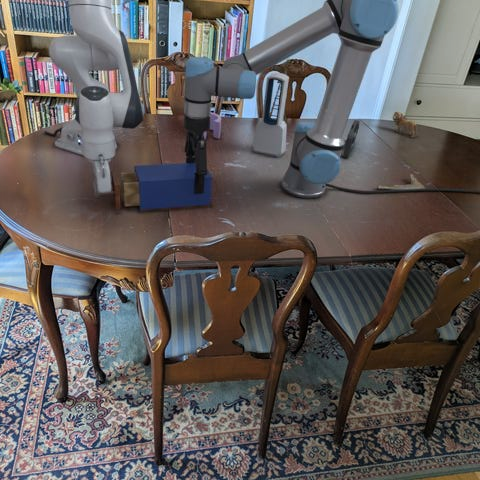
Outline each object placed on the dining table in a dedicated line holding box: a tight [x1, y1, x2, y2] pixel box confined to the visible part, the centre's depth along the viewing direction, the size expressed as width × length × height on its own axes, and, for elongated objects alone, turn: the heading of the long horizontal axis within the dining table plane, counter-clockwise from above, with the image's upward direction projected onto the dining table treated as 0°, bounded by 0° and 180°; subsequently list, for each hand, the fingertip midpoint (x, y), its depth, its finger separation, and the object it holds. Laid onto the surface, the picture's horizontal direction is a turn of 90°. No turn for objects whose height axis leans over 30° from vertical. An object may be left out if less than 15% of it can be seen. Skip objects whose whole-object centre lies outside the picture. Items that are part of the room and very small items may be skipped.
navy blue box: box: [133, 162, 213, 213], centre depth 143 cm, size 22×11×10 cm, turn 109°
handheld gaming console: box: [342, 119, 361, 159], centre depth 194 cm, size 23×3×10 cm, turn 161°
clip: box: [203, 111, 222, 140], centre depth 199 cm, size 20×12×7 cm, turn 23°
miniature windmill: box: [269, 58, 290, 124], centre depth 205 cm, size 9×8×30 cm
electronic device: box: [251, 72, 290, 158], centre depth 178 cm, size 12×8×30 cm, turn 71°
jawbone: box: [376, 173, 426, 190], centre depth 169 cm, size 9×20×2 cm, turn 126°
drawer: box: [92, 170, 140, 211], centre depth 140 cm, size 26×10×8 cm, turn 109°
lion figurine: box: [392, 111, 420, 138], centre depth 220 cm, size 15×5×9 cm, turn 50°
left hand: (102, 192), depth 137 cm, fingers closed, pressing on drawer
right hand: (194, 184), depth 145 cm, fingers closed on navy blue box, 11 cm apart
